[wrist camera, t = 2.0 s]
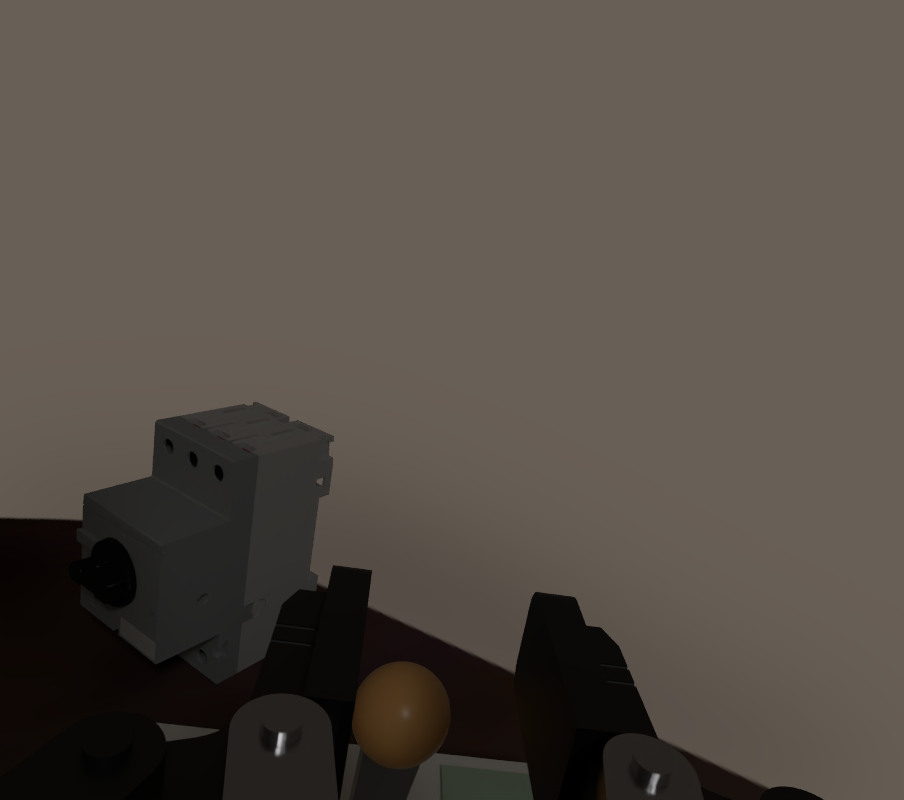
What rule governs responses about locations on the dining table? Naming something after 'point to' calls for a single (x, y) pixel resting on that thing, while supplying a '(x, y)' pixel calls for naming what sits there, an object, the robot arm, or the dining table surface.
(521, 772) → the box
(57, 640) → the dining table surface
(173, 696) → the dining table surface
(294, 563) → the circuit breaker
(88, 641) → the dining table surface
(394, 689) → the breaker lever
